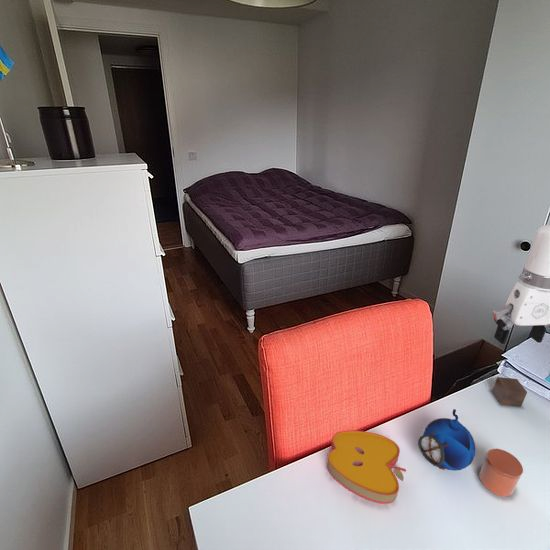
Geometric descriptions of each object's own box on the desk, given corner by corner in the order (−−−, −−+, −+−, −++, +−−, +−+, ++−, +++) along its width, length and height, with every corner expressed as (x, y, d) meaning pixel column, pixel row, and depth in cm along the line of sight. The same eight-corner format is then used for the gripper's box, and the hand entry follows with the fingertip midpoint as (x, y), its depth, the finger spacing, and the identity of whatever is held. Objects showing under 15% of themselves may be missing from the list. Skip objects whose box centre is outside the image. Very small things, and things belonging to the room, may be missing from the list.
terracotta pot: (504, 470, 72) (513, 450, 69) (519, 498, 66) (529, 478, 64) (474, 466, 72) (482, 446, 70) (486, 494, 67) (496, 474, 64)
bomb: (405, 451, 75) (419, 399, 69) (440, 434, 79) (456, 384, 73) (442, 491, 67) (461, 436, 61) (478, 470, 72) (500, 417, 65)
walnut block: (511, 393, 93) (517, 378, 91) (521, 407, 88) (527, 392, 86) (491, 391, 93) (497, 376, 91) (500, 405, 89) (506, 390, 87)
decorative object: (321, 488, 67) (402, 516, 62) (323, 475, 65) (406, 503, 61) (334, 434, 79) (402, 455, 74) (336, 421, 77) (406, 442, 73)
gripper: (518, 286, 75) (495, 350, 82) (589, 285, 77) (560, 348, 84) (495, 272, 82) (475, 332, 89) (560, 271, 84) (536, 330, 91)
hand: (517, 340), depth 86 cm, fingers open, 9 cm apart
